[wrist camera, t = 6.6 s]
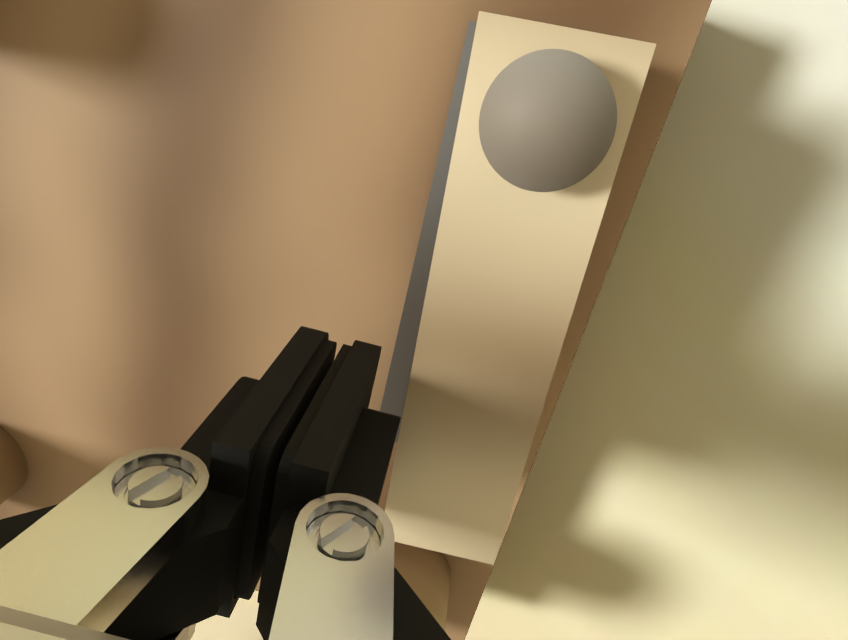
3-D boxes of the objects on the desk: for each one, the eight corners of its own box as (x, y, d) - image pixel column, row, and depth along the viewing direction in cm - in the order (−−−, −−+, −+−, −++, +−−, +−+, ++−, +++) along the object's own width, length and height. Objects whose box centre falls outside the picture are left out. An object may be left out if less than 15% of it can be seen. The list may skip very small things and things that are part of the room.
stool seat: (674, 10, 12) (835, -52, 6) (466, 581, 20) (450, 799, 14) (-106, -180, 13) (-639, -402, 7) (-19, 447, 20) (-236, 601, 14)
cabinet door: (485, 27, 10) (477, 5, 7) (615, 52, 10) (668, 41, 7) (403, 449, 14) (373, 560, 11) (495, 470, 14) (493, 589, 11)
